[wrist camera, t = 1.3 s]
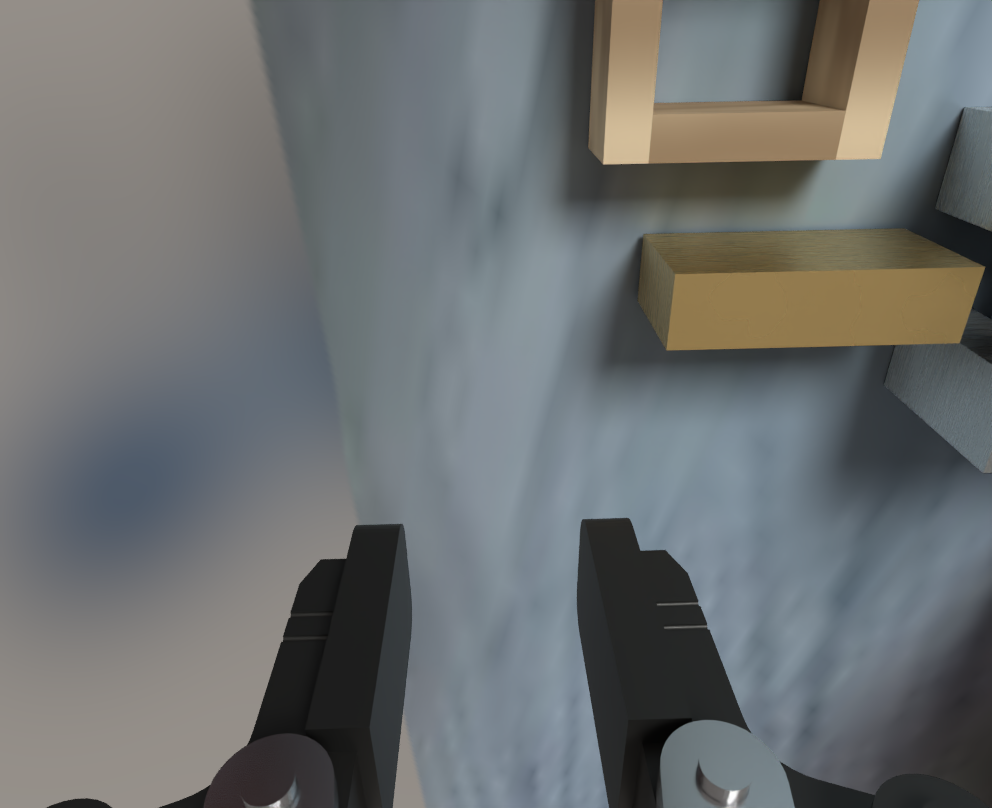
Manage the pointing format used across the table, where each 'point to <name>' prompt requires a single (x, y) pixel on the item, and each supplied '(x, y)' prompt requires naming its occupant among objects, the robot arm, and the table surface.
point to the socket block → (985, 343)
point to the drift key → (804, 289)
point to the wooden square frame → (750, 124)
